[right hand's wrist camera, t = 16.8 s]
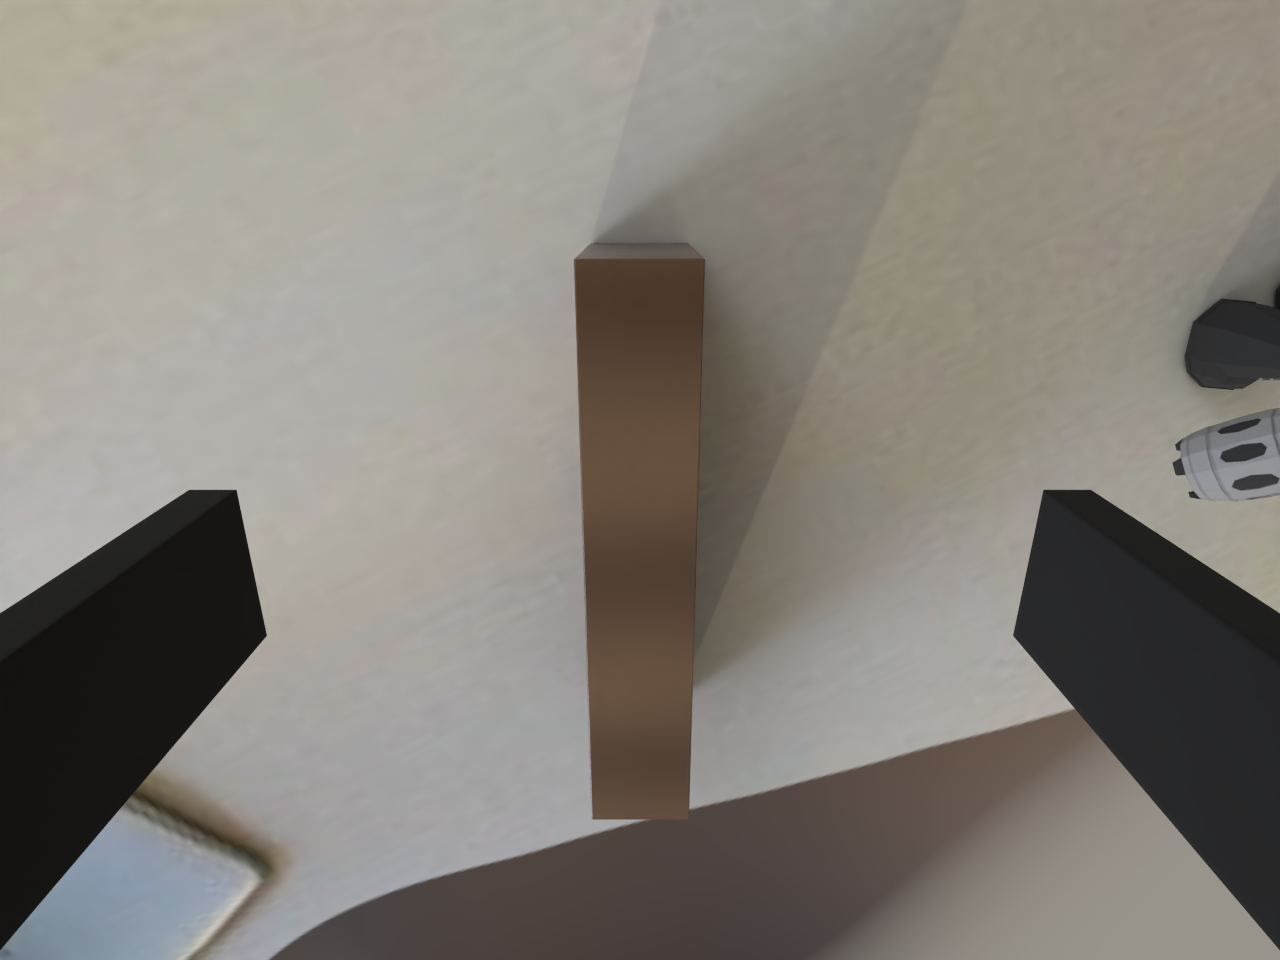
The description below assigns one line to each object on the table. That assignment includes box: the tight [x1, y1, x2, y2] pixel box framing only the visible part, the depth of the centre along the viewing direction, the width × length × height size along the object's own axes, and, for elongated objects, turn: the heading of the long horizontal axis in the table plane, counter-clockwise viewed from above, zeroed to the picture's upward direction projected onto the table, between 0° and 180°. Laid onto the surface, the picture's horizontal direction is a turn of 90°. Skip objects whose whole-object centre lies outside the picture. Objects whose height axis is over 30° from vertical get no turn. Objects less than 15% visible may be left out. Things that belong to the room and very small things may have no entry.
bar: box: [574, 243, 705, 819], centre depth 34 cm, size 25×4×9 cm, turn 0°
